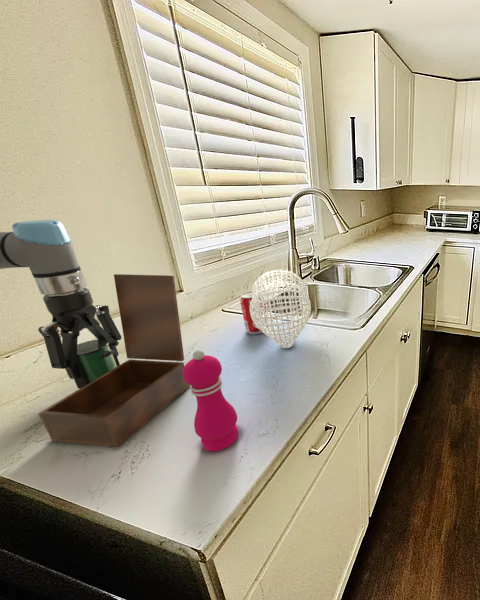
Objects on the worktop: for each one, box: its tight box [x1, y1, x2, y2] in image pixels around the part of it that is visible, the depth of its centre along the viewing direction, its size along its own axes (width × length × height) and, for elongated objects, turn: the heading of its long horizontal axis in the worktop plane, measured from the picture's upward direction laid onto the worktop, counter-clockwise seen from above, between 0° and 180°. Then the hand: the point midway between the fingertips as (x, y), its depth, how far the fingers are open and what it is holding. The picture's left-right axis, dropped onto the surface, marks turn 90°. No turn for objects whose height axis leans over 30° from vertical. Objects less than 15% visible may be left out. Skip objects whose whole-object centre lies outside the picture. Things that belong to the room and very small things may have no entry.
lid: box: [113, 273, 185, 362], centre depth 77 cm, size 21×15×1 cm
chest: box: [38, 359, 190, 448], centre depth 71 cm, size 20×15×7 cm
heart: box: [250, 269, 312, 349], centre depth 95 cm, size 28×16×22 cm, turn 21°
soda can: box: [239, 291, 268, 335], centre depth 107 cm, size 7×7×13 cm
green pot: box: [77, 338, 117, 383], centre depth 79 cm, size 10×8×10 cm
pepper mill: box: [183, 349, 239, 452], centre depth 61 cm, size 7×7×20 cm
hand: (100, 378), depth 81 cm, fingers closed on green pot, 7 cm apart
